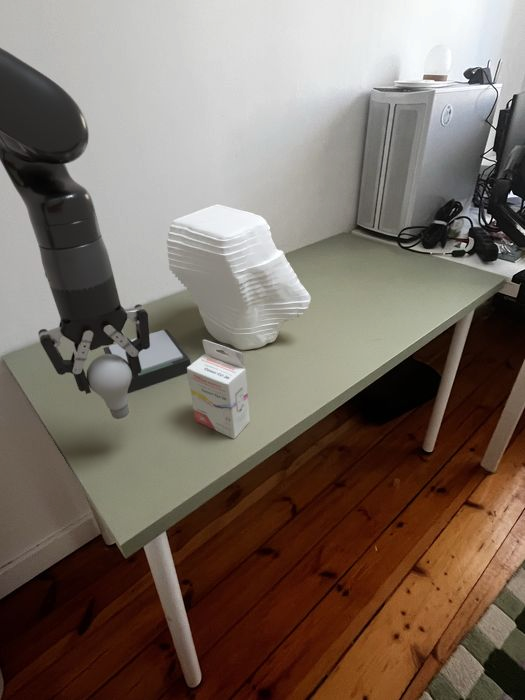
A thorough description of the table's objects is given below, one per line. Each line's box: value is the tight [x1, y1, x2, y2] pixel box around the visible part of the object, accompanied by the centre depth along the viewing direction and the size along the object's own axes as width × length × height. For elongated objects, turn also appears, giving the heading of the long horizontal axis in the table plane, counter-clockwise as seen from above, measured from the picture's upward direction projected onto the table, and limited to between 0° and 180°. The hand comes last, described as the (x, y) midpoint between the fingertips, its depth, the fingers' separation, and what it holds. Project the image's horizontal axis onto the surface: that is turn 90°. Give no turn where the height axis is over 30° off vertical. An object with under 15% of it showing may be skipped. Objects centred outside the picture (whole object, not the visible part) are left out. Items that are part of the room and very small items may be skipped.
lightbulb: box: [86, 353, 132, 420], centre depth 63 cm, size 6×6×11 cm
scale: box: [102, 328, 192, 394], centre depth 89 cm, size 14×14×4 cm
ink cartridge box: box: [187, 339, 251, 440], centre depth 70 cm, size 9×5×15 cm, turn 58°
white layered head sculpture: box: [166, 203, 312, 351], centre depth 91 cm, size 21×27×26 cm
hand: (111, 382), depth 62 cm, fingers closed on lightbulb, 6 cm apart
